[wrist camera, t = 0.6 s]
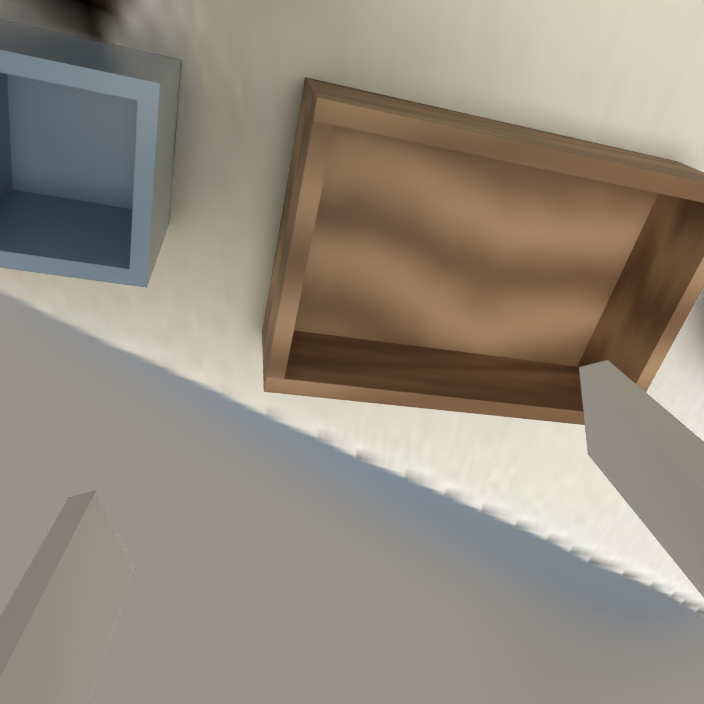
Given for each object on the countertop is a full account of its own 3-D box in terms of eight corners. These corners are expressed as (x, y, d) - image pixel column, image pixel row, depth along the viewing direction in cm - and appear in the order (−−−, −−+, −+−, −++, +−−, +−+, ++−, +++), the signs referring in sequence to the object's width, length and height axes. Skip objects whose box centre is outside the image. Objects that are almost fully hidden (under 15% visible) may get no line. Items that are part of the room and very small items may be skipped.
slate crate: (-8, 17, 30) (-97, 29, 22) (181, 60, 32) (159, 83, 24) (2, 197, 34) (-70, 257, 26) (168, 223, 36) (146, 287, 29)
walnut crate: (305, 77, 33) (317, 97, 27) (677, 161, 39) (754, 193, 33) (262, 332, 41) (263, 391, 35) (577, 372, 46) (625, 429, 40)
